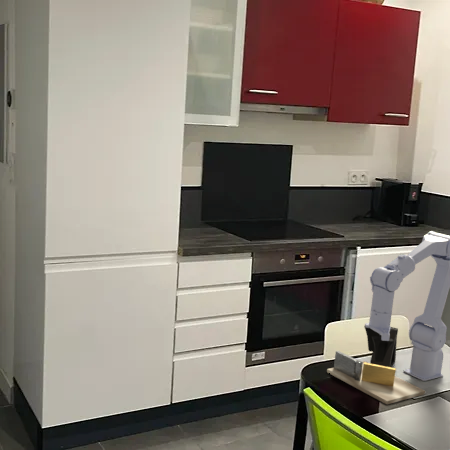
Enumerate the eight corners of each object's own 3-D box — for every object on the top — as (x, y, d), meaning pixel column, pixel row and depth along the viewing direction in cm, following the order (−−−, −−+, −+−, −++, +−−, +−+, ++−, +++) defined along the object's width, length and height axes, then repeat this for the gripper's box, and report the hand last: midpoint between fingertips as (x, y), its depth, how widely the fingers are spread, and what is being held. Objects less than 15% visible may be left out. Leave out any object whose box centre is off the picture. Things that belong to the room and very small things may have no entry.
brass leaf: (361, 378, 188) (364, 362, 187) (393, 384, 186) (395, 368, 185) (361, 380, 187) (363, 363, 186) (393, 386, 185) (395, 369, 184)
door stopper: (388, 369, 201) (393, 332, 199) (369, 364, 204) (374, 328, 202) (395, 360, 209) (400, 325, 207) (377, 356, 211) (382, 321, 209)
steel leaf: (337, 367, 196) (339, 350, 195) (361, 380, 188) (364, 362, 187) (333, 368, 195) (335, 351, 194) (357, 381, 187) (359, 363, 186)
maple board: (364, 364, 203) (364, 361, 203) (424, 394, 185) (425, 390, 184) (326, 372, 194) (327, 368, 194) (386, 404, 175) (387, 401, 175)
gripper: (361, 301, 189) (356, 345, 191) (373, 317, 174) (367, 365, 177) (385, 303, 189) (379, 347, 191) (399, 319, 174) (393, 366, 177)
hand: (375, 356), depth 184 cm, fingers open, 7 cm apart
